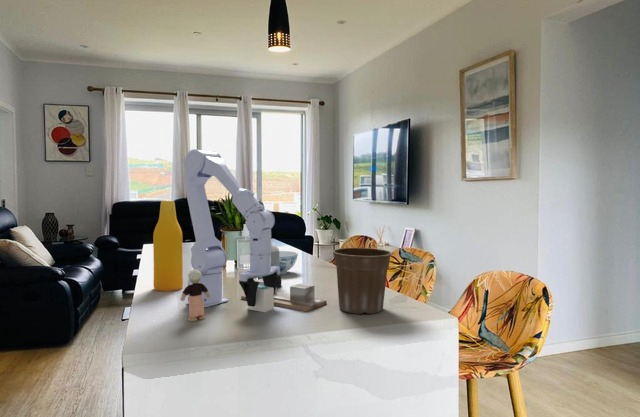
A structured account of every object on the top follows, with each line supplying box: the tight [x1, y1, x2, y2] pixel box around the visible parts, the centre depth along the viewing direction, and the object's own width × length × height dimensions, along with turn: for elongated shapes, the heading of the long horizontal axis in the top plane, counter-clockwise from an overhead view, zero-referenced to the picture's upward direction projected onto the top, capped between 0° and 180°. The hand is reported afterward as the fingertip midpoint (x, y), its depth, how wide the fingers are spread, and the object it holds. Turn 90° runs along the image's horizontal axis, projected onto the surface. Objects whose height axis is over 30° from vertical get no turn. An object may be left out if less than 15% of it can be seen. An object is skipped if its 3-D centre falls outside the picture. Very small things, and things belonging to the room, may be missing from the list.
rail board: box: [240, 278, 327, 312], centre depth 133 cm, size 10×24×6 cm, turn 56°
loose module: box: [246, 285, 275, 313], centre depth 125 cm, size 4×6×6 cm, turn 56°
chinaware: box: [279, 250, 299, 275], centre depth 179 cm, size 15×15×8 cm
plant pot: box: [332, 247, 393, 315], centre depth 125 cm, size 16×16×16 cm
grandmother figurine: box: [180, 269, 210, 322], centre depth 115 cm, size 8×4×13 cm, turn 141°
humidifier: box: [257, 242, 282, 289], centre depth 154 cm, size 8×8×25 cm
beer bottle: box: [152, 200, 184, 292], centre depth 150 cm, size 9×9×29 cm
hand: (260, 303), depth 125 cm, fingers open, 7 cm apart
